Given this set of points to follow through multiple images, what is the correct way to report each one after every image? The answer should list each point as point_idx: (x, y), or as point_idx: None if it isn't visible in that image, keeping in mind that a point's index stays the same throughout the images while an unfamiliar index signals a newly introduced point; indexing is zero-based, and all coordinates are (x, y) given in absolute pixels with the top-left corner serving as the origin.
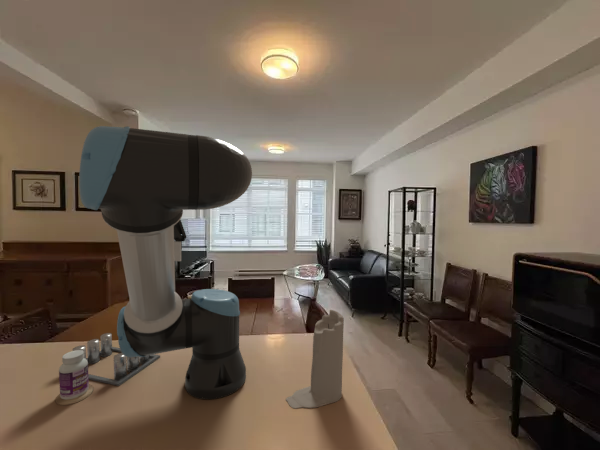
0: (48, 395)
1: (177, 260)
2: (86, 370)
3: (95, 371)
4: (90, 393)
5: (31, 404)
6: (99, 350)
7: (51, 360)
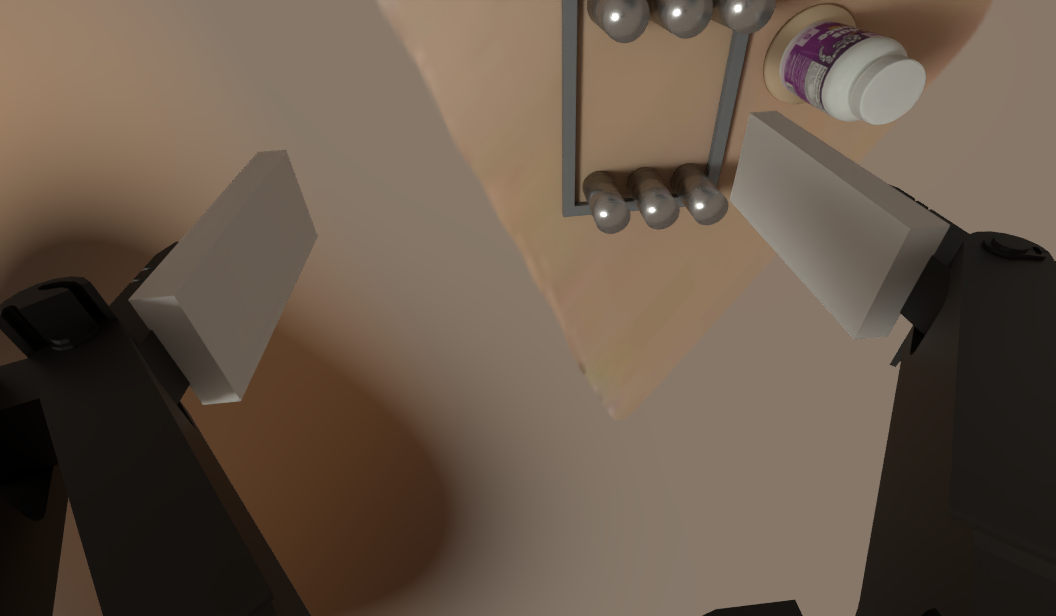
0: (807, 127)
1: (295, 186)
2: (848, 38)
3: (690, 121)
4: (809, 8)
5: (842, 128)
6: (641, 186)
7: (658, 286)
